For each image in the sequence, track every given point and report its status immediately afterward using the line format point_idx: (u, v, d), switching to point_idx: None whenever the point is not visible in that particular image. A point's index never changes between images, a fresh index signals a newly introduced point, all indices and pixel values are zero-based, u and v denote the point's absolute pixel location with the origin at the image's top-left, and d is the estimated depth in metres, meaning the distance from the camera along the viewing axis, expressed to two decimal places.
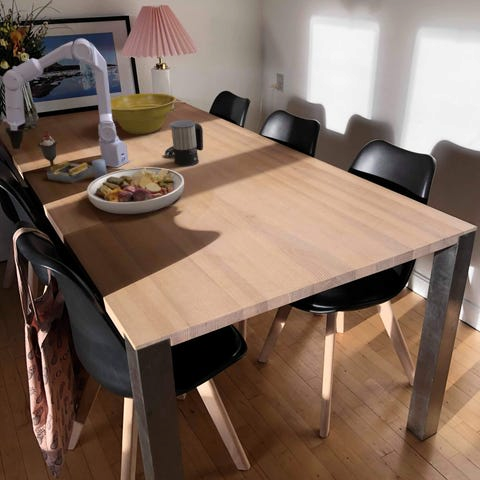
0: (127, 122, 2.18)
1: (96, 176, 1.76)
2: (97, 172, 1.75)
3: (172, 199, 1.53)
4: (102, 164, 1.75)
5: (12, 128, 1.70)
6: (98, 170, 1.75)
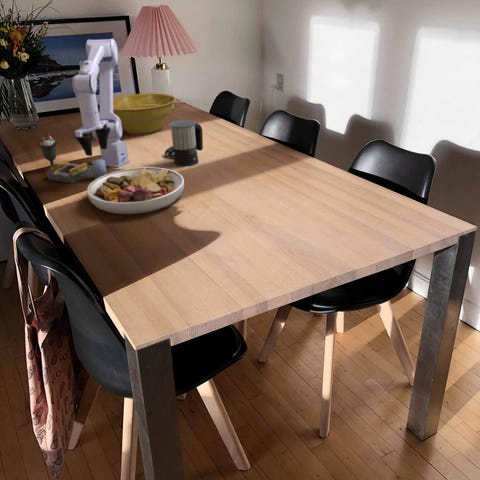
0: (127, 122, 2.18)
1: (96, 176, 1.76)
2: (97, 172, 1.75)
3: (172, 199, 1.53)
4: (102, 164, 1.75)
5: None
6: (98, 170, 1.75)
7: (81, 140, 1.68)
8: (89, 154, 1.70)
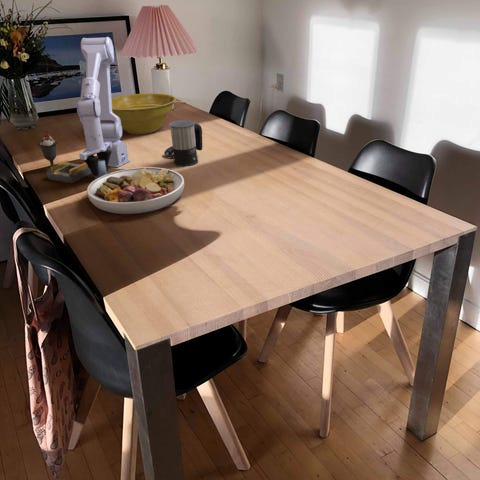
0: (127, 122, 2.18)
1: (96, 176, 1.76)
2: None
3: (172, 199, 1.53)
4: (102, 164, 1.75)
5: None
6: (98, 170, 1.75)
7: (88, 161, 1.73)
8: (95, 174, 1.75)
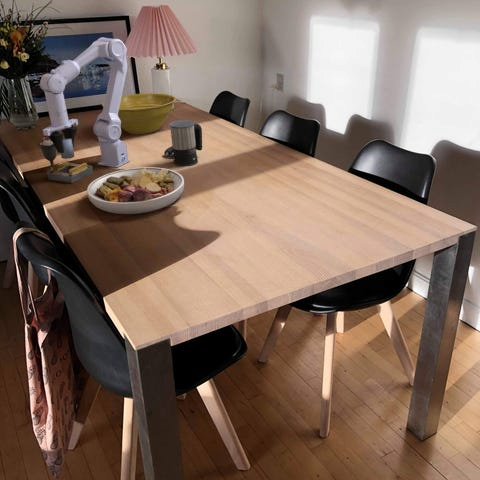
0: (127, 122, 2.18)
1: (63, 155, 1.75)
2: (64, 151, 1.74)
3: (172, 199, 1.53)
4: (69, 143, 1.74)
5: None
6: (65, 149, 1.74)
7: (52, 137, 1.72)
8: (60, 151, 1.74)
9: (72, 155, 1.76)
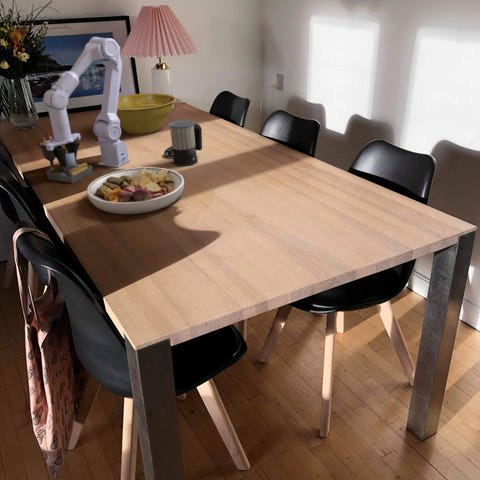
0: (127, 122, 2.18)
1: (65, 169, 1.77)
2: (67, 165, 1.77)
3: (172, 199, 1.53)
4: (71, 157, 1.76)
5: None
6: (67, 163, 1.76)
7: (55, 152, 1.74)
8: (63, 165, 1.76)
9: None
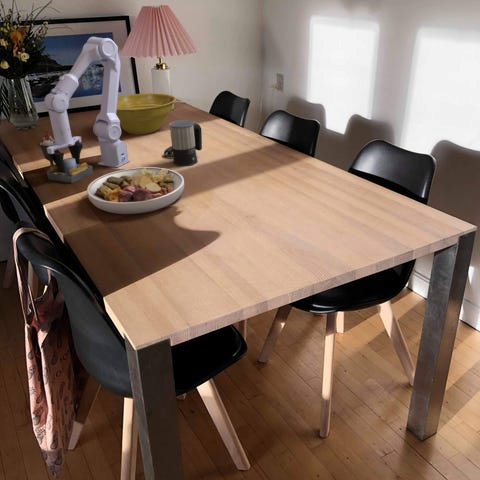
0: (127, 122, 2.18)
1: None
2: (68, 171, 1.78)
3: (172, 199, 1.53)
4: (72, 163, 1.77)
5: None
6: (69, 169, 1.77)
7: (53, 156, 1.74)
8: (61, 170, 1.76)
9: None
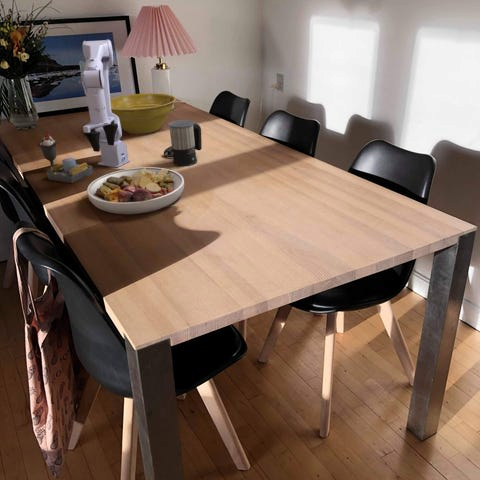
0: (127, 122, 2.18)
1: None
2: (68, 171, 1.78)
3: (172, 199, 1.53)
4: (72, 162, 1.77)
5: None
6: (68, 169, 1.77)
7: (89, 136, 1.68)
8: (96, 150, 1.70)
9: None
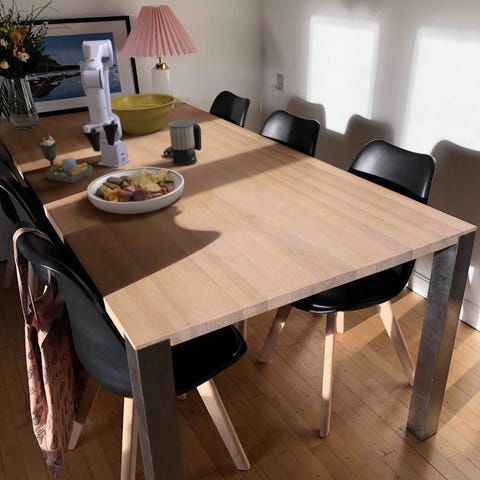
0: (127, 122, 2.18)
1: None
2: (68, 171, 1.78)
3: (172, 199, 1.53)
4: (72, 163, 1.77)
5: None
6: (68, 169, 1.77)
7: (89, 136, 1.68)
8: (96, 150, 1.70)
9: None
